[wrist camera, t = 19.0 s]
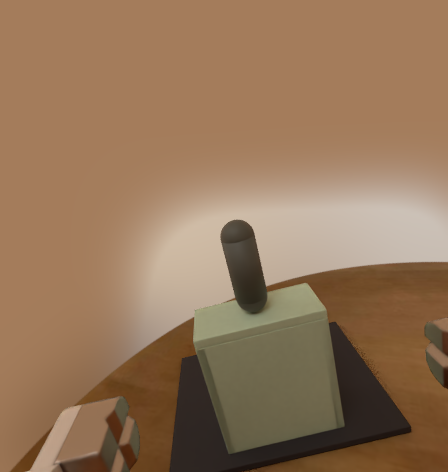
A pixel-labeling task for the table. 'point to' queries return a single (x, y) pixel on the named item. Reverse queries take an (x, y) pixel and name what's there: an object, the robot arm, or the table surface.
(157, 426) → the table surface
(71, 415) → the robot arm
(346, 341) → the mat
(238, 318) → the green flask block
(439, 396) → the table surface
